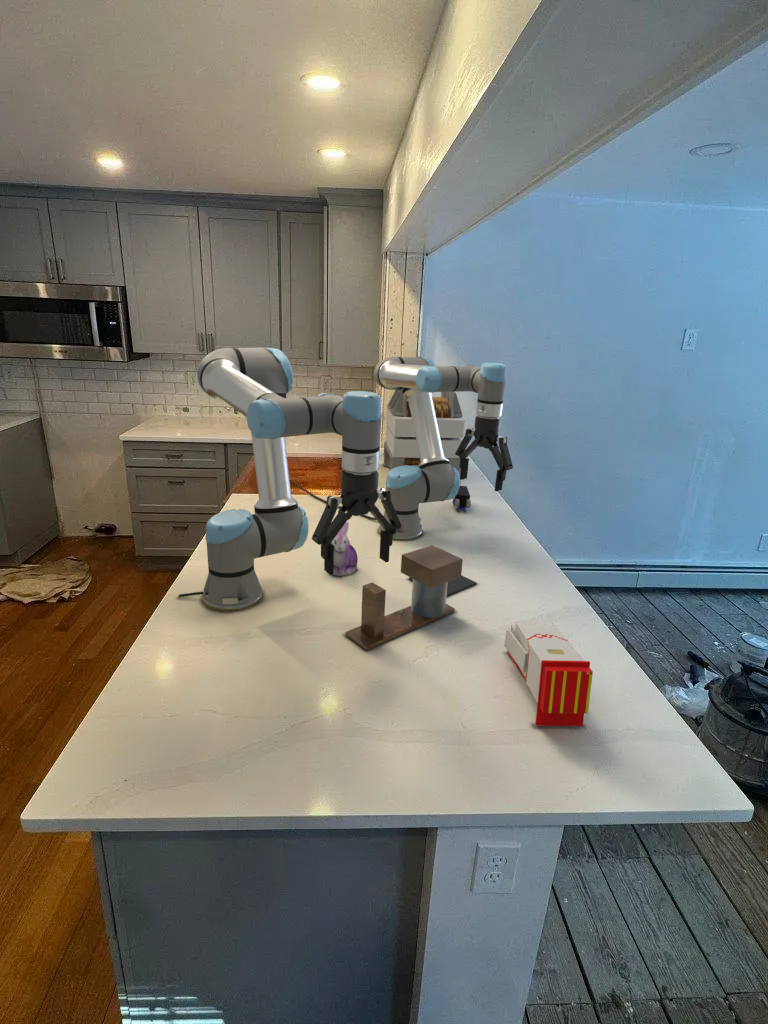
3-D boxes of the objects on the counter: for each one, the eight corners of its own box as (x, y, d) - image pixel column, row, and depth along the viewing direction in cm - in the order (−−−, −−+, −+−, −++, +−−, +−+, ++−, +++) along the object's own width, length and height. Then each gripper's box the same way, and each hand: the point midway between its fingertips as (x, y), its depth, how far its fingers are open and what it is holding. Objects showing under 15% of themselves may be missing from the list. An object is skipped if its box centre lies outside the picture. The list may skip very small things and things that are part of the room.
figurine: (335, 579, 164) (336, 531, 159) (322, 565, 172) (322, 519, 167) (364, 574, 168) (366, 527, 163) (350, 560, 177) (351, 515, 172)
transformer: (382, 463, 289) (386, 382, 275) (445, 464, 293) (451, 384, 279) (390, 482, 257) (394, 392, 243) (460, 483, 261) (468, 394, 247)
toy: (550, 607, 134) (601, 667, 105) (545, 659, 137) (594, 732, 108) (499, 606, 134) (537, 666, 104) (495, 659, 137) (530, 731, 107)
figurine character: (470, 516, 223) (465, 500, 237) (473, 499, 220) (467, 484, 233) (453, 516, 223) (449, 500, 236) (455, 498, 220) (451, 483, 233)
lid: (400, 572, 146) (401, 554, 144) (430, 561, 153) (432, 544, 151) (430, 588, 138) (432, 570, 136) (461, 576, 145) (463, 559, 143)
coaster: (408, 579, 167) (408, 577, 166) (441, 567, 175) (441, 565, 175) (443, 598, 157) (443, 596, 157) (476, 584, 165) (476, 582, 165)
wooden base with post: (367, 651, 131) (369, 601, 126) (344, 634, 137) (345, 586, 133) (455, 612, 150) (460, 567, 145) (431, 599, 156) (435, 555, 152)
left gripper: (311, 482, 105) (311, 585, 112) (421, 468, 118) (414, 561, 125) (295, 472, 111) (296, 570, 118) (401, 459, 123) (396, 549, 131)
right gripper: (448, 410, 175) (442, 476, 182) (516, 426, 158) (506, 497, 166) (463, 408, 180) (457, 472, 187) (531, 423, 163) (521, 492, 170)
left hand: (357, 566), depth 121 cm, fingers open, 13 cm apart
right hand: (480, 484), depth 176 cm, fingers open, 13 cm apart
